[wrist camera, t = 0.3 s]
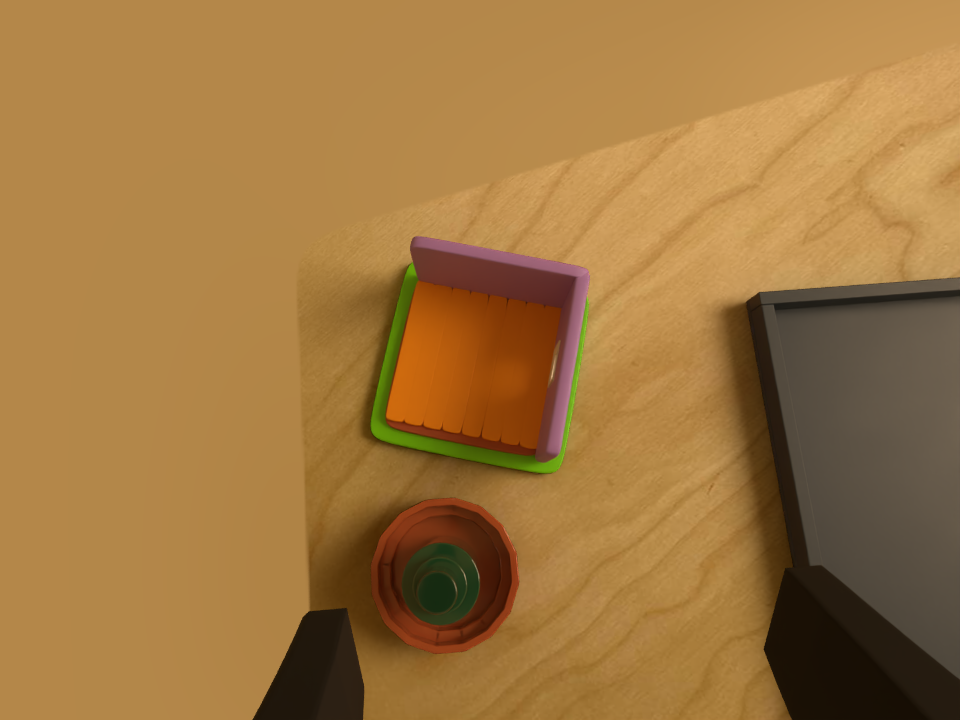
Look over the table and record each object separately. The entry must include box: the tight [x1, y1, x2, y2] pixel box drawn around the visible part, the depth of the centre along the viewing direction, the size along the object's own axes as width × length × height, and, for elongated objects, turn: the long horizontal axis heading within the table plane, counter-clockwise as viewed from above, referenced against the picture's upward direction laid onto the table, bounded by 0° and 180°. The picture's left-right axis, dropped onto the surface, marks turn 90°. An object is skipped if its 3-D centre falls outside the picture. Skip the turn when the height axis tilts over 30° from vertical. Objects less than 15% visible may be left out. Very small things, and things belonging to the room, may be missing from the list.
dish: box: [371, 498, 519, 654], centre depth 35 cm, size 8×8×2 cm
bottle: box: [401, 536, 480, 625], centre depth 31 cm, size 4×4×9 cm
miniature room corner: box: [370, 236, 590, 474], centre depth 36 cm, size 12×12×7 cm
